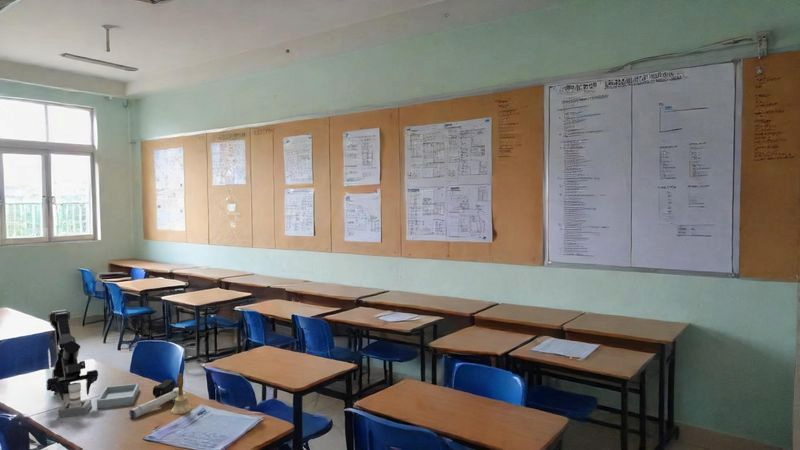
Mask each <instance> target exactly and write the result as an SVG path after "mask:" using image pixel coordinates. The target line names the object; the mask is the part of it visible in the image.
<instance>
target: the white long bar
mask: <svg viewBox="0 0 800 450" xmlns="http://www.w3.org/2000/svg"><path fill="white" fill-rule="evenodd" d="M183 396H185V397H186V391H183ZM177 397H179V389H178V386H177V387H175V389H173V391H172V392H169V393H167V394H165V395H163V396H160V397H158V398H156V399H155V398H154V399H151V400H148V401H147V402H144V403H142V404H139V405H136V406H135V407H134V408H132V409H130V410H129V411H128V413H129V416H130V418H131V419H136V418H138V417H141V416H144V414H146V413H148V412H150V411H152V410H153V409H155V408H157V407H159V406H161V405H163V404H166V403H167V402H170V401H171V400H172V403H173V404H175V399H176V398H177Z"/></svg>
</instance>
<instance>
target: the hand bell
mask: <svg viewBox="0 0 800 450" xmlns="http://www.w3.org/2000/svg"><path fill="white" fill-rule="evenodd" d="M176 385H177V387H178V389H179V397H177V398H176V399H175V403H174V404H173V405H174V406H173V407H172V409H171V410H170V413H171V414H172V415H184V414H186V413H188V412H191V410H192V406H190V405H189V403H188V400H187V396H186V395H185V396H183V392H184V390H183V387H184V378H183V375H182V373H179V374H177V378H176Z"/></svg>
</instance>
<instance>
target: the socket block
mask: <svg viewBox="0 0 800 450" xmlns="http://www.w3.org/2000/svg"><path fill="white" fill-rule="evenodd" d="M69 406H70V401H65V402H64V403H63V404H62V406H60V408H59V409H58V411H57V412H58V415H57V416H58V419H60V418H69V417H76V416H85V415H87V413H88V412H89V410H90V409H91V408H92V399H82V400H81V407H75V408H69Z"/></svg>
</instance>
